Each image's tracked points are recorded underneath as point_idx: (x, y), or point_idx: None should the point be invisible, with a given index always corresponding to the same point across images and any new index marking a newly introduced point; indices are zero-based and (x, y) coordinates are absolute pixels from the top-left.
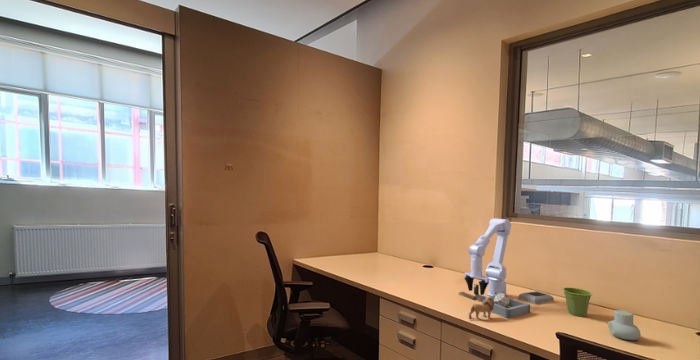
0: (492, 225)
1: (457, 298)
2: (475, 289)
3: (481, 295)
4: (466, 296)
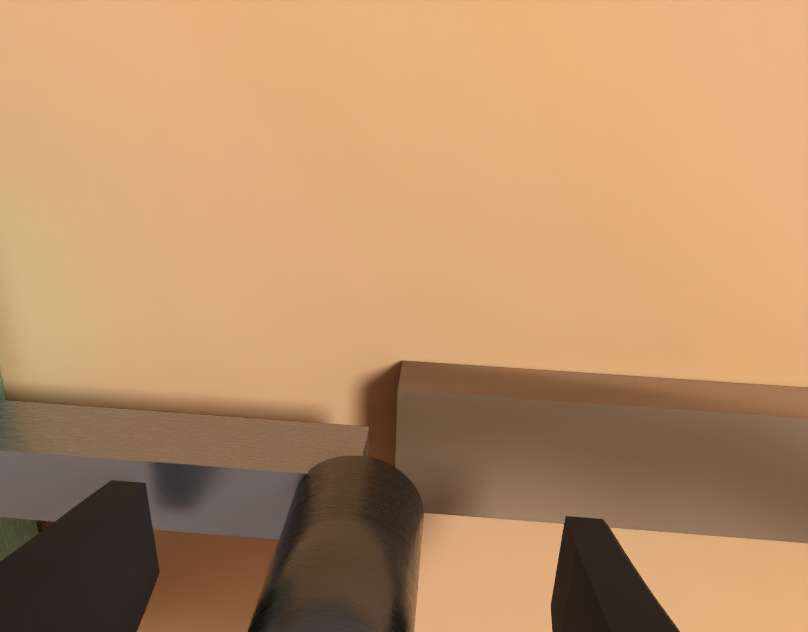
0: None
1: (729, 50)
2: (307, 576)
3: (203, 522)
4: (632, 386)
